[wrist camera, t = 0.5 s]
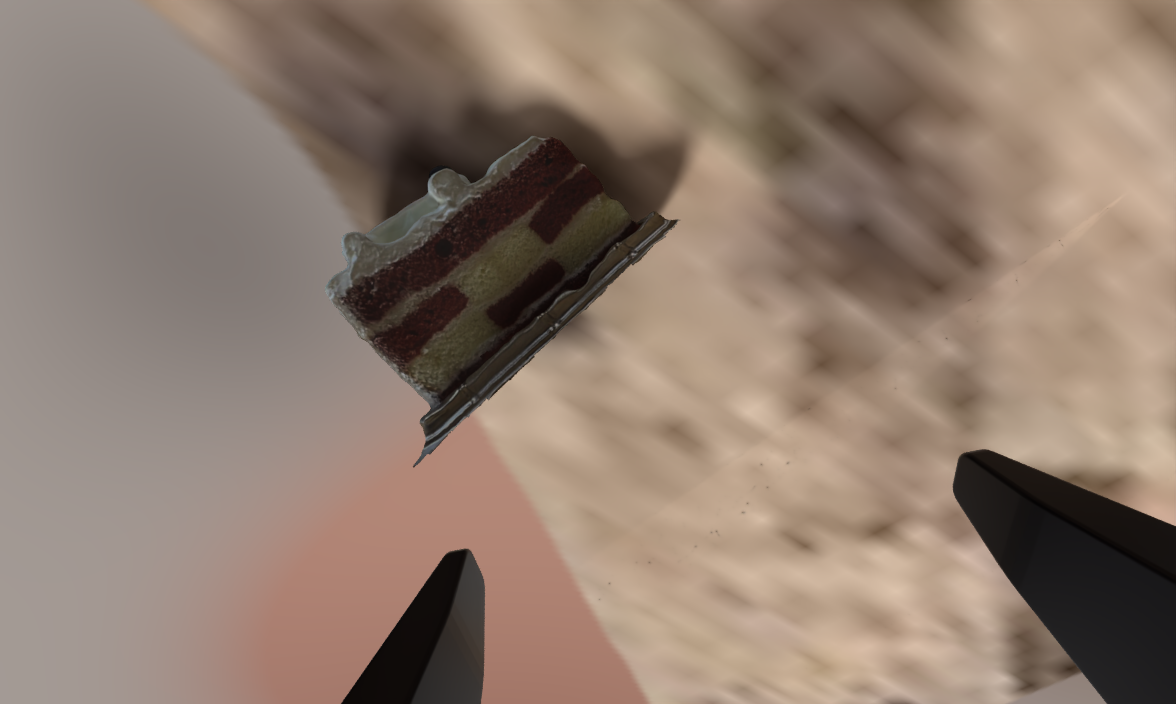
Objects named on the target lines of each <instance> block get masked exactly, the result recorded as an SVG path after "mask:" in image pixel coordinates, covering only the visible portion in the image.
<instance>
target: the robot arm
mask: <svg viewBox="0 0 1176 704" xmlns="http://www.w3.org/2000/svg"><path fill="white" fill-rule="evenodd" d="M953 492H954V496H955V498H956V500H957V502H958V503H959V505H960V506H961V508H962V509H963V511H964V512H965V514H966V515H967V517H968V518H969V520H970V522H971V523H972V525H973V526H974V528H975V529H976V531H977V532H978V534H979V535H980V537H981V538H982V540H983V542H984V543H985V545H986V546H987V548H988V549H989V551H990V552H991V554H992V555H993V557H994V558H995V560H996V562H997V563H998V565H999V566H1000V568H1001V569H1002V570H1003V572H1004V573H1005V575H1006V576H1007V578H1008V579H1009V580H1010V582H1011V583H1012V584H1013V586H1014V587H1015V588H1016V590H1017V591H1018V592H1019V593H1020V595H1021V596H1022V597H1023V599H1024V600H1025V601H1026V602H1027V604H1028V605H1029V606H1030V607H1031V609H1032V610H1033V611H1034V612H1035V614H1036V615H1037V616H1038V617H1039V619H1040V620H1041V621H1042V622H1043V624H1044V625H1045V626H1046V628H1047V629H1048V630H1049V631H1050V633H1051V634H1052V635H1053V636H1054V638H1055V639H1056V640H1057V641H1058V643H1059V644H1060V645H1061V646H1062V648H1063V649H1064V650H1065V651H1066V653H1067V654H1068V655H1069V656H1070V658H1071V659H1072V660H1073V662H1074V663H1075V664H1076V665H1077V667H1078V668H1079V669H1080V670H1081V672H1082V673H1083V674H1084V675H1085V677H1086V678H1087V679H1088V680H1089V682H1090V683H1091V684H1092V685H1093V687H1094V688H1095V689H1096V690H1097V692H1098V693H1099V694H1100V696H1101V697H1102V698H1103V699H1104V701H1105V702H1106V703H1107V704H1176V526H1174V525H1171V524H1169V523H1166V522H1164V521H1162V520H1159V519H1157V518H1154V517H1152V516H1149V515H1147V514H1144V513H1142V512H1140V511H1137V510H1135V509H1132V508H1130V507H1127V506H1125V505H1122V504H1120V503H1118V502H1115V501H1113V500H1110V499H1108V498H1105V497H1103V496H1101V495H1098V494H1096V493H1093V492H1091V491H1088V490H1086V489H1083V488H1081V487H1079V486H1076V485H1074V484H1071V483H1069V482H1066V481H1064V480H1061V479H1059V478H1057V477H1054V476H1052V475H1049V474H1047V473H1044V472H1042V471H1040V470H1037V469H1035V468H1032V467H1030V466H1027V465H1025V464H1022V463H1020V462H1018V461H1015V460H1013V459H1010V458H1008V457H1005V456H1003V455H1001V454H998V453H996V452H993V451H990V450H986V449H982V450H976V451H971V452H966V453H963V454H961V455H960V457H959V459H958V463H957V467H956V472H955V477H954V482H953ZM484 617H485V585H484V579H483V576H482V573H481V571H480V569H479V567H478V565H477V563H476V560H475V558H474V556H473V554H472V552H471V551H470V550H469V549H461V550H455V551H450V552H448V553H447V554H446V555H445V556H444V557H443V558H442V560H441V561H440V563H439V564H438V566H437V567H436V569H435V570H434V571H433V573H432V574H431V576H430V577H429V578H428V580H427V581H426V583H425V584H424V586H423V587H422V588H421V590H420V591H419V593H418V594H417V596H416V597H415V599H414V600H413V602H412V603H411V604H410V606H409V607H408V609H407V610H406V611H405V613H404V614H403V616H402V617H401V619H400V620H399V622H398V623H397V624H396V626H395V627H394V629H393V630H392V631H391V633H390V634H389V636H388V637H387V639H386V640H385V642H384V643H383V644H382V646H381V647H380V649H379V650H378V652H377V653H376V654H375V656H374V657H373V659H372V660H371V662H370V663H369V665H368V666H367V667H366V669H365V670H364V672H363V673H362V674H361V676H360V677H359V679H358V680H357V682H356V683H355V685H354V686H353V687H352V689H351V690H350V692H349V693H348V694H347V696H346V697H345V699H344V700H343V702H342V703H341V704H481V697H482V689H483V677H484V622H485V621H484V619H485V618H484Z"/></svg>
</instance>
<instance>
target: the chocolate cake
mask: <svg viewBox="0 0 1176 704" xmlns="http://www.w3.org/2000/svg"><path fill="white" fill-rule="evenodd" d="M678 221H680V220H678V219H677V220H667V219H665V218H664V217H662V216H661V215H659V214H658V213H657V212H652V213H650V214H649V215H648V216H647V217H645V218H644V219H642V220H640V221H639V222H638V223H636V222H634V221H633V220H632V219H631V217H630V215H629V214H628V212H627V211H626V210H625V209H624V207H623V206H622V204H621V203H620V202H619V201H616V200H613V199H610V198H609V197H608V196H607V195H606V194H605V193H604V189H603V186H602V184H601V182H600V181H599V180H598V179H597V177H596V176H595V175H593V174H592V173H591V172H590V171H589V170H588V168H587V166H586V165H584V164H582V163H580V162H579V161H578V160H577V159H576V158H575V157H574V156H573V154H572V153H571V152H570V150H569V149H568V148H567V147H566V146H565V145H564V144H563V143H562V142H561V141H559V140H557V139H555V138H553V137H549V138H539V137H537V136H531V137H530V138H529V139H528V140H527V141H525V142H523V143H521V144H520V145H519V146H517V147H516V148H513V149H512V150H510V151H509V152H508V153H507V154H505V155H504V156H502V157H500V158H498V159H497V160H496V161H495V162H494V163H493V164H492V165H491V166H490V167H489V169H488V171H487V173H486V176H485V177H483V178H482V179H480V180H478V181H477V182H475V183H472V184H471V183H470V182H469V180H468V179H467V178H466V177H465V176H464V175H460V174H457V173H456V172H454V171H453V170H452V169H451V168H450V167H448V166H437V167H435V168H433V169H432V170H431V171H430V174H429V181H428V193H427V194H426V195H425V196H424V197H422V198H420V199H418V200H416V201H414V202H413V203H411V204H410V205H408V206H407V207H405V208H403V209H402V210H401V211H400V212H398V213H397V214H396V215H395V216H393V217H390V218H388V219H387V220H385V221H384V222H382V223H381V224H379V225H378V226H376V227H375V228H373V229H372V230H371V231H370V232H368V233H367V234H365V235H364V234H362V233H360V232H351V233H347V234H345V235H344V236H343V237H342V249H343V251H342V254H343V256H344V257H345V260H346V261H347V262H348V266H347V268H346V269H345V270H343V271H341V272H340V273H338V274H336V275H334V276H333V277H332V279H331V280H330V281H329V282H328V284H327V285H326V288H325V291H326V294H327V296H328V297H329V299H330V300H331V302H332V303H333V304H334V306H335V307H336V308H337V309H338V310H339V312H340V313H341V315H342V316H343V317H344V318H345V319H346V320H347V321H348V322H349V323H350V324H351V325H352V326H353V327H354V329H355V330H356V332H357V334H358V336H359V338H361V339H363V340H365V341H367V342H368V343H369V344H370V345H371V346H372V348H373V350H374V351H375V352H376V353H377V354H378V355H379V356H380V357H381V358H382V359H383V360H384V361H385V362H387V363H388V365H389V366H391V368H392V369H393V370H394V371H395V372H396V373H397V374H398V375H399V376H400V377H401V379H403V380H404V381H405V382H407V383H408V384H409V385H410V386H412V387H413V388H414V389H415V390H416V392H417V393H418V394H419V395H420V396H421V397H423V398H424V399H425V400H426V401H427V402H428V403H429V405H430V407H431V409H430V411H429V412H428V413H427V414H426V415H424V416H423V417H422V418H421V420H420V424H421V426H422V427H423V430H424V434H425V437H426V443H425V445H424V449H423V451H422V454H421V456H420V458H419V459H418V461H417V462H416V463H415V464H414V466H413V467H415V466H416V465H417V464H418V463H420V462H421V460H422V459H423V458H424V457H425V456H426V455H427V454H431V453H432V452H433V451H434V450H435V449H436V447H437V446H438V445H439V444H440V443H441V442H442V441H443V440H444V439H445V438H446V437H447V435H448V434H449V433H450V432H451V431H453V430H454V429H455V428H456V427H457V425H459V424H460V423H461V422H462V421H463V420H464V419H465V418H466V417H469V416H470V414H471V413H472V412H473V411H474V410H475V409H477V408H478V407H479V406H481V404H482V403H483V402H484V401H485V400H486V398H487V399H488V400H489V399H490V398H491V397H492V396H493V395H494V394H495V393H496V392H497V391H498V390H499V389H500V388H501V387H502V386H503V385H504V384H505V383H506V382H507V381H508V380H511V379H512V378H513V377H514V375H515V374H517V372H518V371H519V370H520V369H522V368H523V367H524V366H525V365H526V364H528V363H529V362H530V361H531V359H533V358H534V357H535V356H534V355H535V354H536V353H537V352H539V351H540V350H541V349H542V348H543V347H544V346H545V345H546V344H548V343H549V341H550V340H552V339H554V338H555V336H556V335H557V333H559V331H560V330H562V329H563V328H564V327H565V326H566V325H568V323H569V322H570V321H571V320H573V319H574V318H575V317H576V316H578V315H579V314H580V313H581V312H582V311H584V310H586V309H587V308H588V307H589V305H590V304H591V303H593V302H594V301H595V300H596V299H597V298H598V297H599V296H601V295H602V294H603V292H604V291H606V288H607V286H608V285H610V284H611V283H613V281H614V280H615V279H616V278H617V277H618V276H619V275H620V274H621V273H623V272H624V271H625V270H626V268H627V267H628V266H629V265H630V264H632V265H634V264H635V263H637V262H639V261H640V260H641V259H642V257H643V256H644V255H646V253H647V252H648V251H649V250H650V248H651V247H653V245H654V244H656V243H657V242H658V241H660V240H662V239H663V238H665V237H666V236H665V235H666V234H667V233H668V231H669V230H672V228H674V227H675V225H676V224H677V222H678Z"/></svg>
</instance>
